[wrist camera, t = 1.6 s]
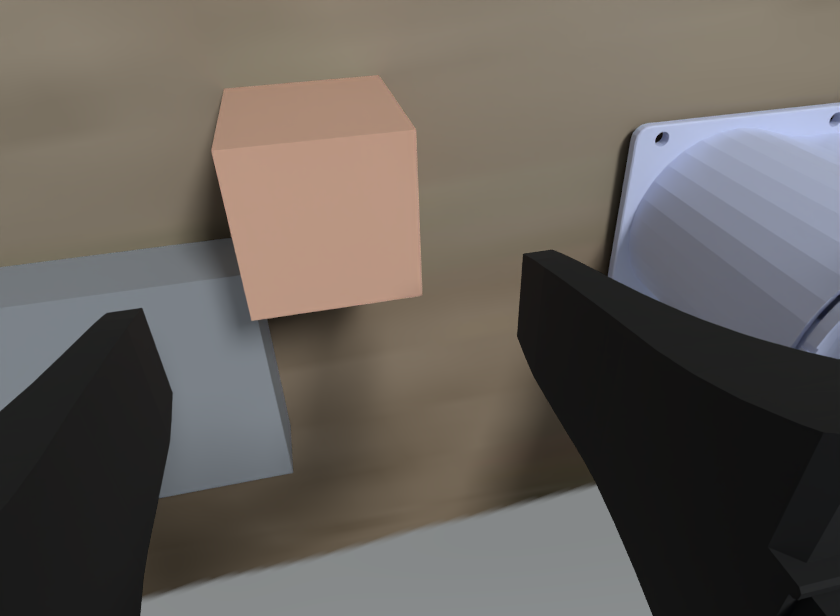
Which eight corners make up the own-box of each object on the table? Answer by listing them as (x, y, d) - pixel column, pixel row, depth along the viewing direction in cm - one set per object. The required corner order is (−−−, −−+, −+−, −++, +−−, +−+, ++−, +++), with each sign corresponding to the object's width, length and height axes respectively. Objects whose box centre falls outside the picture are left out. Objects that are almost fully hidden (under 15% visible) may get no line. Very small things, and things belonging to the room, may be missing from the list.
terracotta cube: (378, 74, 18) (416, 129, 14) (387, 212, 21) (422, 295, 16) (223, 88, 18) (211, 150, 13) (253, 229, 20) (251, 320, 16)
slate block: (248, 230, 21) (246, 274, 18) (290, 418, 26) (293, 472, 23) (-39, 266, 19) (-83, 319, 17) (65, 458, 24) (43, 520, 22)
